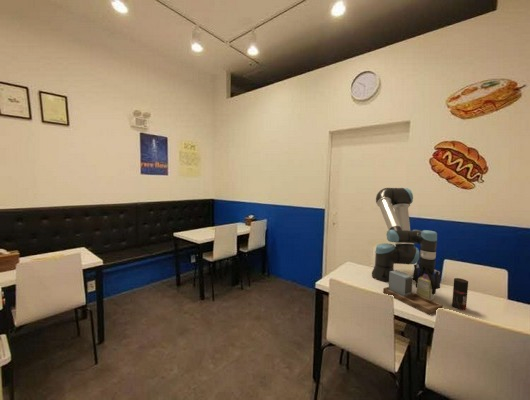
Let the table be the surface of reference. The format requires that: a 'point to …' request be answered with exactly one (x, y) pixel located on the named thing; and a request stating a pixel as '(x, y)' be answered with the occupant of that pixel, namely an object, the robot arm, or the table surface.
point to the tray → (416, 301)
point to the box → (424, 286)
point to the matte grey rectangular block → (400, 283)
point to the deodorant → (460, 294)
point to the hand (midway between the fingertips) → (424, 296)
